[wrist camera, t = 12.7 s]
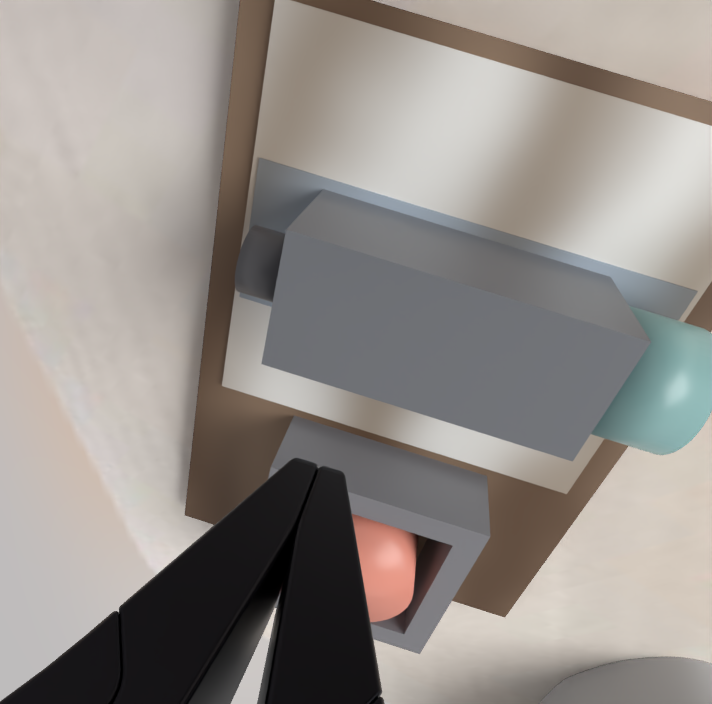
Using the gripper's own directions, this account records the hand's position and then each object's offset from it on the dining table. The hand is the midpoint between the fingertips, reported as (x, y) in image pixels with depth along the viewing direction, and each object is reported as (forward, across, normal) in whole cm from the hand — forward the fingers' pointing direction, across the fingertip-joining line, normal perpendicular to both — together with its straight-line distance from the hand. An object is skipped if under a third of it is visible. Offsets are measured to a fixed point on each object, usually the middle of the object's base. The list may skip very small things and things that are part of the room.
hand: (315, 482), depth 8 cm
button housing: (+11, -2, +12) cm, 16 cm away
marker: (+10, -2, +1) cm, 10 cm away
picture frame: (+11, -2, +5) cm, 12 cm away
